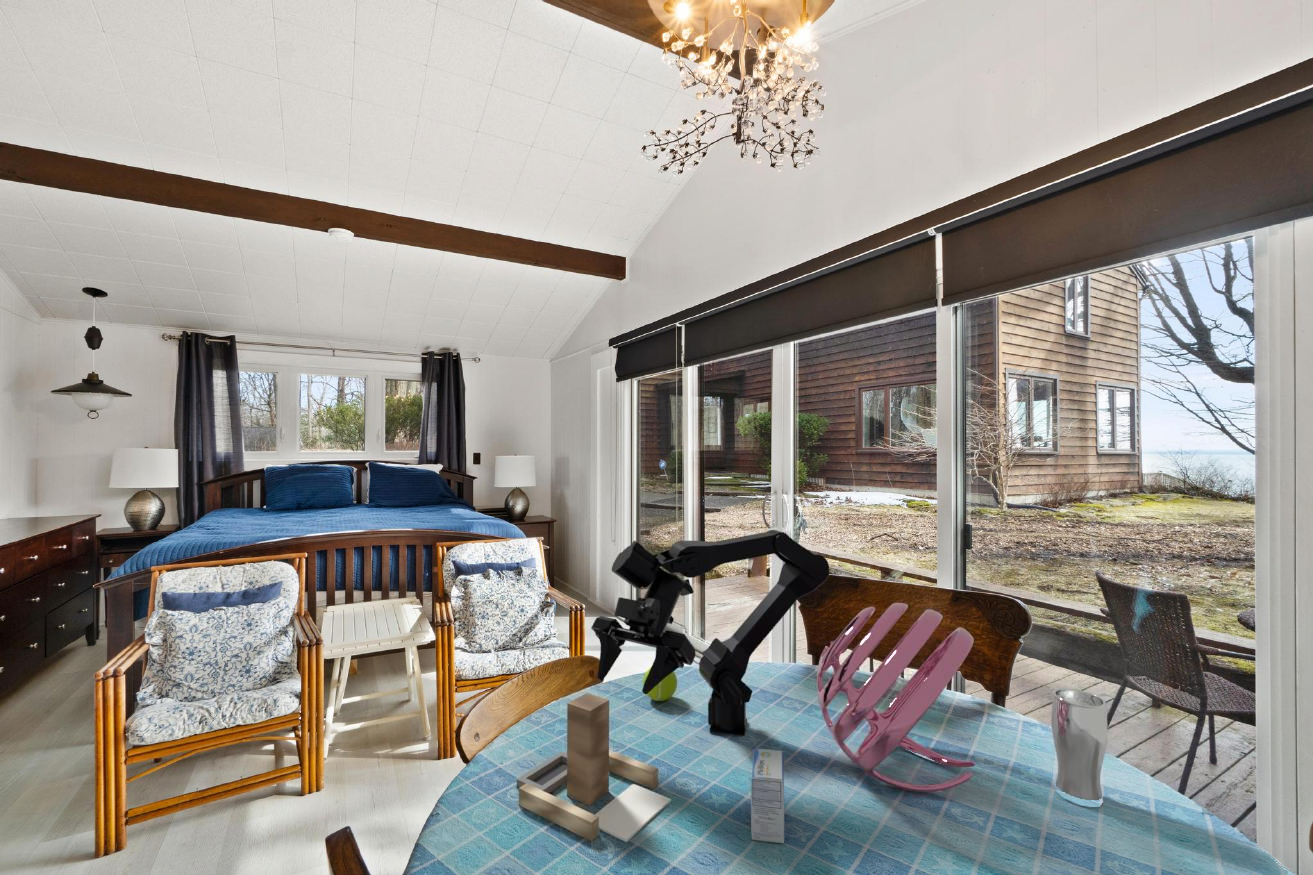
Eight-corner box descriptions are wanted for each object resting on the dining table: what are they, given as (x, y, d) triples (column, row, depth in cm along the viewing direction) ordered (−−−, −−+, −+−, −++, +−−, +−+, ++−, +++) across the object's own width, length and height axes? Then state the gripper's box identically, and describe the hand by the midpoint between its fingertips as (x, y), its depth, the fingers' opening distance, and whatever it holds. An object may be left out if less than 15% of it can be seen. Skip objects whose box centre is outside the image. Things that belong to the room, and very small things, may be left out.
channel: (518, 805, 88) (518, 788, 88) (589, 757, 101) (589, 742, 101) (591, 841, 80) (591, 822, 80) (658, 784, 93) (658, 768, 93)
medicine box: (784, 845, 80) (784, 780, 80) (750, 840, 80) (750, 776, 80) (783, 809, 87) (784, 750, 87) (752, 805, 88) (753, 746, 88)
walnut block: (586, 781, 94) (586, 692, 94) (608, 791, 92) (609, 699, 92) (566, 795, 90) (567, 703, 90) (589, 806, 88) (590, 710, 88)
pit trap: (516, 786, 93) (516, 779, 93) (561, 758, 101) (561, 751, 101) (542, 798, 90) (542, 790, 90) (586, 768, 98) (586, 761, 98)
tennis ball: (636, 698, 124) (636, 665, 124) (660, 689, 129) (660, 656, 129) (659, 710, 119) (659, 675, 119) (683, 699, 124) (684, 666, 124)
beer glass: (1097, 787, 93) (1097, 691, 93) (1115, 814, 86) (1115, 710, 86) (1045, 779, 95) (1045, 684, 95) (1059, 804, 89) (1059, 703, 89)
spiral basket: (1060, 659, 94) (907, 547, 106) (1019, 772, 74) (837, 618, 87) (960, 750, 109) (836, 643, 121) (904, 864, 89) (763, 722, 102)
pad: (586, 823, 84) (586, 821, 84) (633, 785, 93) (633, 783, 93) (626, 842, 80) (626, 839, 80) (670, 801, 89) (670, 799, 89)
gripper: (597, 570, 107) (554, 650, 98) (686, 585, 97) (647, 675, 88) (624, 604, 114) (586, 682, 105) (710, 621, 103) (676, 709, 94)
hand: (621, 686), depth 98 cm, fingers open, 9 cm apart
